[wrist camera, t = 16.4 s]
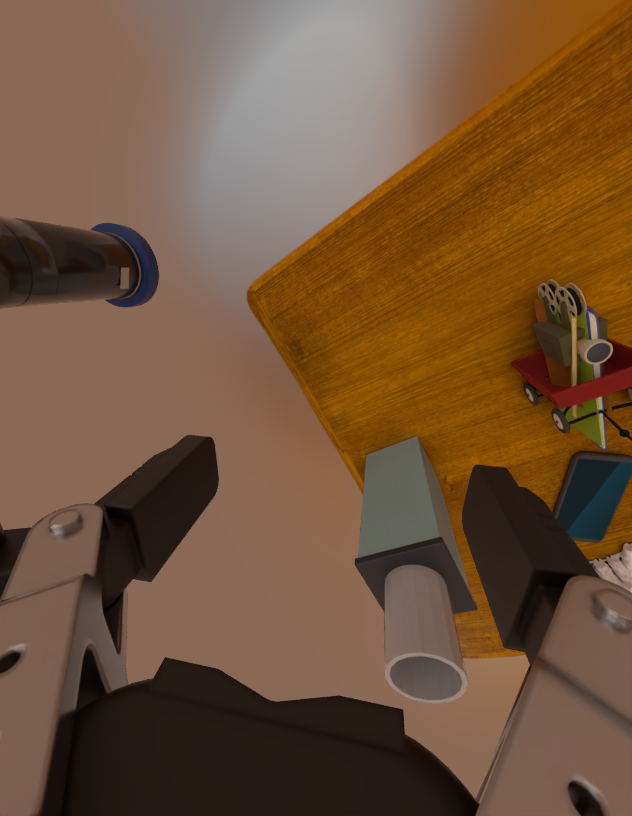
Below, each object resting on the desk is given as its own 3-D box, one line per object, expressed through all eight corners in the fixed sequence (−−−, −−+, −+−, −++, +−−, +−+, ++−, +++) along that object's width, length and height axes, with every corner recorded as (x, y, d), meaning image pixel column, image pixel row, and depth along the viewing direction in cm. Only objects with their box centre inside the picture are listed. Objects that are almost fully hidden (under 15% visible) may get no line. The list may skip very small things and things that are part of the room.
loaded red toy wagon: (529, 425, 46) (490, 296, 40) (604, 401, 43) (575, 257, 37) (607, 512, 31) (566, 328, 24) (730, 485, 28) (722, 267, 21)
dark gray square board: (364, 454, 52) (354, 564, 32) (417, 434, 49) (443, 542, 29) (387, 496, 54) (391, 624, 34) (440, 480, 51) (478, 610, 31)
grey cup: (382, 602, 33) (382, 693, 26) (386, 559, 31) (388, 646, 24) (442, 612, 32) (460, 710, 25) (451, 569, 30) (474, 662, 23)
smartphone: (545, 532, 51) (547, 537, 50) (573, 450, 45) (577, 453, 45) (598, 539, 50) (602, 544, 49) (635, 455, 44) (640, 459, 43)
